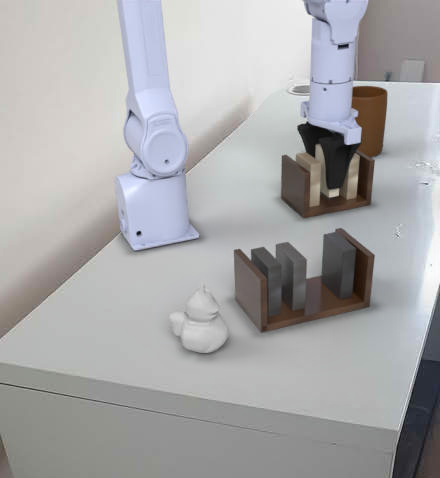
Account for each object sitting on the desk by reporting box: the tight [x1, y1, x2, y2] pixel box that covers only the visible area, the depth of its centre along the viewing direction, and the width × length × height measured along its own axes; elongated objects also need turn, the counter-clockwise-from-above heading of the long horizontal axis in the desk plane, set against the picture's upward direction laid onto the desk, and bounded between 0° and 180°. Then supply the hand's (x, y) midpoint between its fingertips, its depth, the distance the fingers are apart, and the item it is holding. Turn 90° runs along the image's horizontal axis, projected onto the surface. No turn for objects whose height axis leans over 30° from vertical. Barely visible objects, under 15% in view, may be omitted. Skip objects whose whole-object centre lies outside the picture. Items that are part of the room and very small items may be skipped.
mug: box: [351, 85, 389, 158], centre depth 119 cm, size 12×8×9 cm, turn 75°
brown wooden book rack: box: [280, 149, 376, 219], centre depth 104 cm, size 11×8×7 cm
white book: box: [315, 144, 339, 198], centre depth 103 cm, size 2×5×6 cm, turn 20°
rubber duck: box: [168, 281, 230, 354], centre depth 75 cm, size 5×7×8 cm
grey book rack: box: [233, 227, 376, 333], centre depth 82 cm, size 14×8×7 cm, turn 110°
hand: (326, 181), depth 104 cm, fingers closed on white book, 5 cm apart
